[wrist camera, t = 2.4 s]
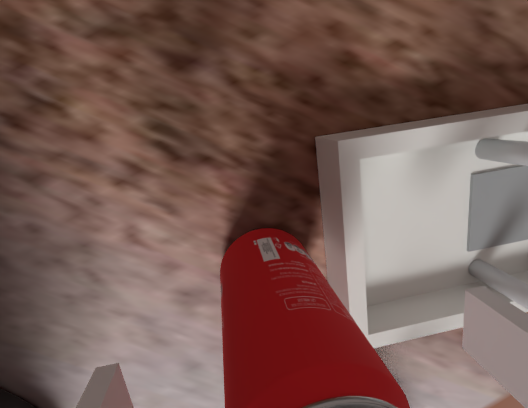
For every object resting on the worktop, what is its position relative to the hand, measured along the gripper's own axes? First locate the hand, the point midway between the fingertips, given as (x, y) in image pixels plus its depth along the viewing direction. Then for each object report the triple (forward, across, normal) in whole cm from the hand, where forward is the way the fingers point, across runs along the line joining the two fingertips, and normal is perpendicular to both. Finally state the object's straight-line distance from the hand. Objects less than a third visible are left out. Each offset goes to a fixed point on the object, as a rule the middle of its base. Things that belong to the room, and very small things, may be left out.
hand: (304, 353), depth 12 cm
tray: (+8, +12, +1) cm, 15 cm away
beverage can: (+8, -1, 0) cm, 8 cm away
